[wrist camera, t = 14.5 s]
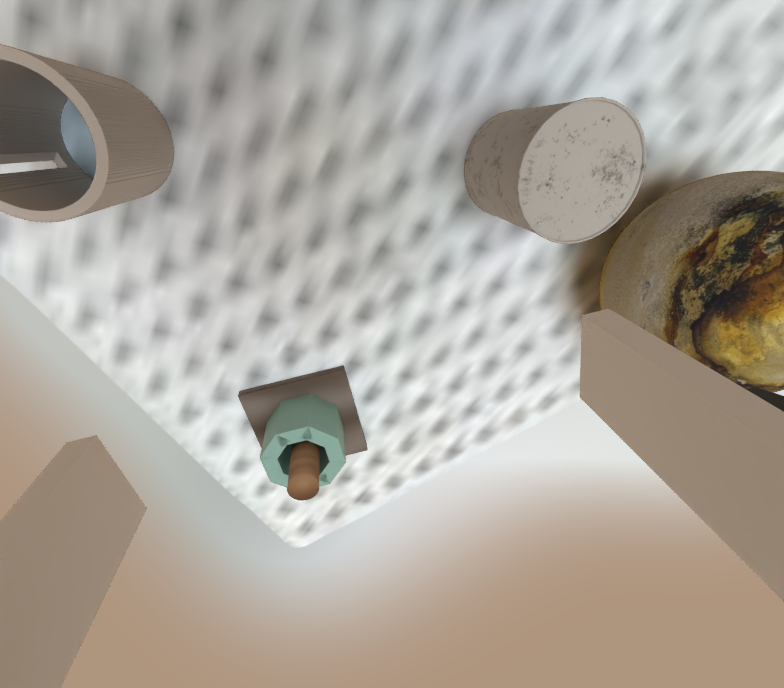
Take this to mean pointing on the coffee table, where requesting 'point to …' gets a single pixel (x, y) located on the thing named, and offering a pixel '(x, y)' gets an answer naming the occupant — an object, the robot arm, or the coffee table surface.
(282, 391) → the post stand
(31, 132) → the cup
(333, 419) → the collar
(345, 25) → the coffee table surface
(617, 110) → the beige speckled cylinder
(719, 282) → the decorative sphere
